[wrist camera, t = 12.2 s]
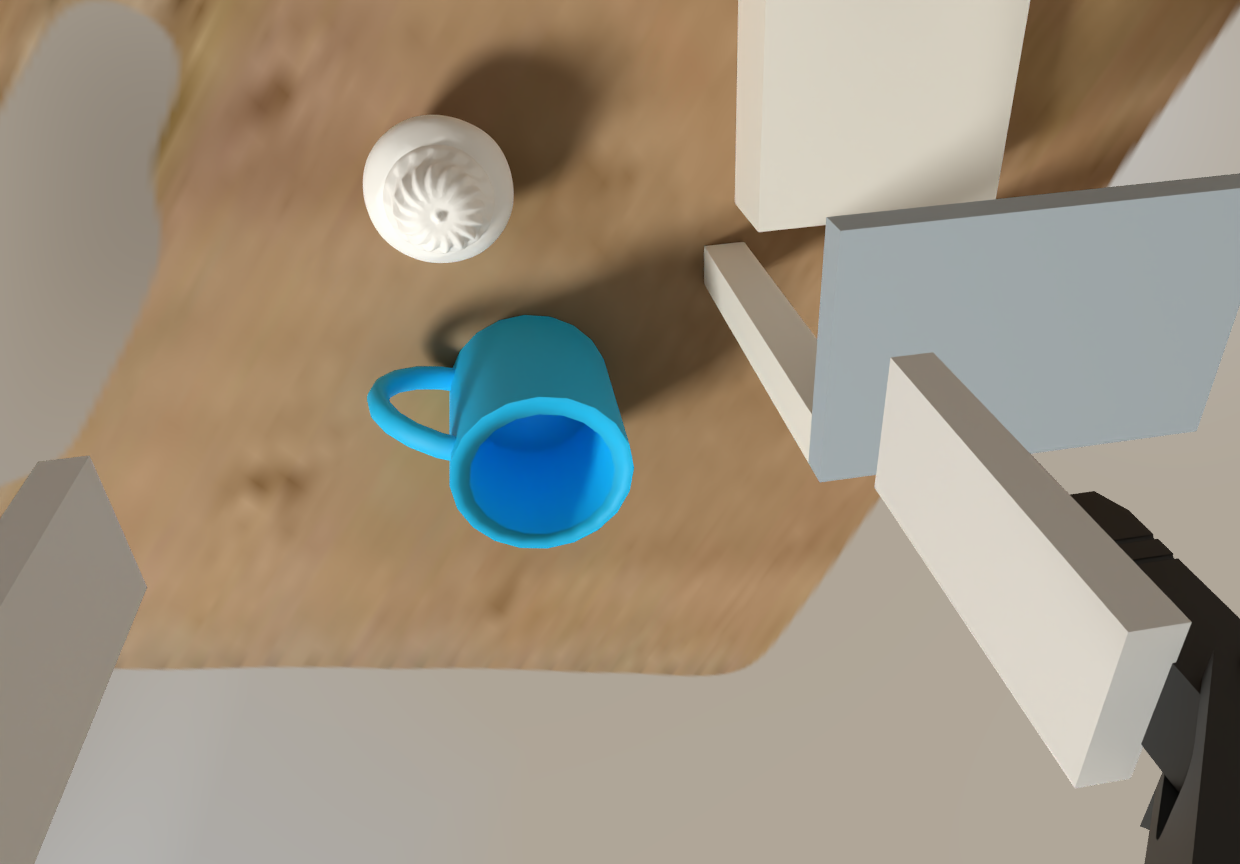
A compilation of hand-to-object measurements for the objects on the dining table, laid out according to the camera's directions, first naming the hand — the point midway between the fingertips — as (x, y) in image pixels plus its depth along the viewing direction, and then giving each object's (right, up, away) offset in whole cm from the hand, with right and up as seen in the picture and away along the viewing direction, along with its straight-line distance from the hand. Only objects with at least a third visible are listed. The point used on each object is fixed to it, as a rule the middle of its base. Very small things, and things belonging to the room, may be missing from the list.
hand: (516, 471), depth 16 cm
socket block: (+12, +19, +25) cm, 33 cm away
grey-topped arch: (+13, +13, +29) cm, 34 cm away
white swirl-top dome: (-6, +13, +26) cm, 29 cm away
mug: (-5, +3, +32) cm, 32 cm away
